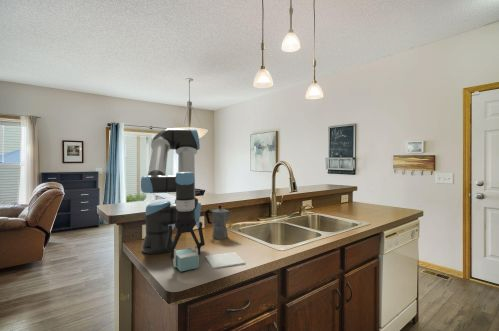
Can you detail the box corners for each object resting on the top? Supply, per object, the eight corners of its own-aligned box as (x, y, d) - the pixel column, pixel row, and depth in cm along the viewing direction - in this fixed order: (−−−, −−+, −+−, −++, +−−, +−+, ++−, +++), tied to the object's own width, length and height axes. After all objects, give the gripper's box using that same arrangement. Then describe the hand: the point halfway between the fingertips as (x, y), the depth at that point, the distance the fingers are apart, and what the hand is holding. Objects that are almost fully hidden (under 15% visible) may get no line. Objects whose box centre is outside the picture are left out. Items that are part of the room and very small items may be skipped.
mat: (205, 257, 121) (205, 256, 121) (234, 253, 126) (234, 251, 126) (213, 269, 108) (213, 267, 108) (245, 263, 113) (245, 262, 113)
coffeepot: (232, 234, 156) (232, 204, 156) (229, 239, 147) (229, 207, 147) (207, 233, 158) (207, 203, 158) (202, 238, 149) (202, 206, 149)
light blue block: (173, 262, 112) (173, 250, 112) (190, 259, 116) (190, 247, 116) (180, 271, 104) (180, 258, 103) (198, 267, 108) (198, 254, 107)
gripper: (159, 213, 101) (159, 272, 102) (212, 209, 109) (212, 263, 110) (157, 209, 108) (158, 264, 109) (208, 206, 116) (208, 257, 117)
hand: (185, 264), depth 110 cm, fingers closed on light blue block, 8 cm apart
